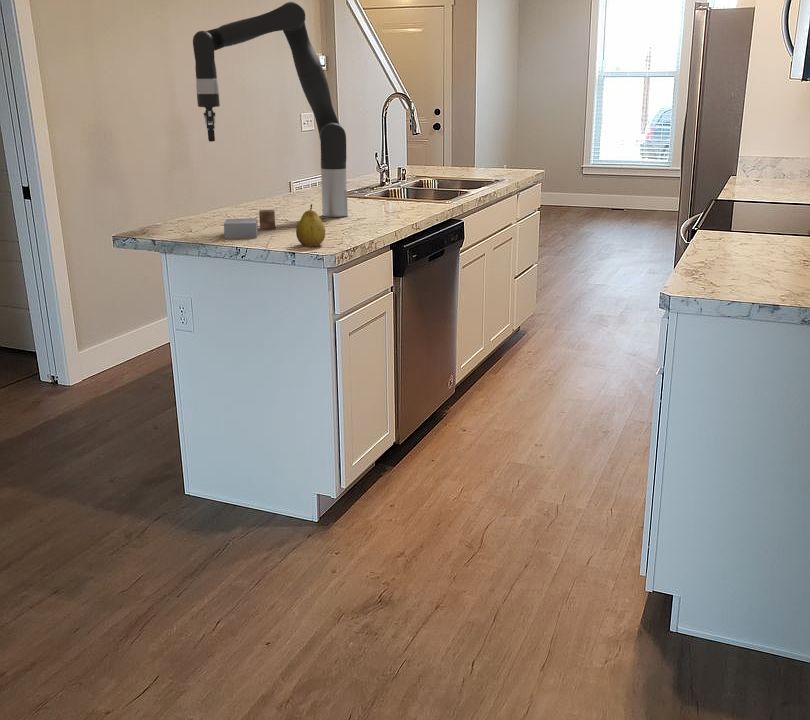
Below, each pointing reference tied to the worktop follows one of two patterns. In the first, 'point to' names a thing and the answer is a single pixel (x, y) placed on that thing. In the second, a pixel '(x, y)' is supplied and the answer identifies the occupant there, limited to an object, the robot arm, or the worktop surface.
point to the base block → (241, 228)
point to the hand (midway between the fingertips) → (211, 140)
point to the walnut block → (267, 219)
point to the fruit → (310, 229)
